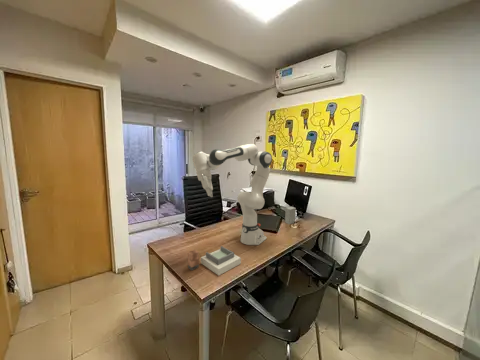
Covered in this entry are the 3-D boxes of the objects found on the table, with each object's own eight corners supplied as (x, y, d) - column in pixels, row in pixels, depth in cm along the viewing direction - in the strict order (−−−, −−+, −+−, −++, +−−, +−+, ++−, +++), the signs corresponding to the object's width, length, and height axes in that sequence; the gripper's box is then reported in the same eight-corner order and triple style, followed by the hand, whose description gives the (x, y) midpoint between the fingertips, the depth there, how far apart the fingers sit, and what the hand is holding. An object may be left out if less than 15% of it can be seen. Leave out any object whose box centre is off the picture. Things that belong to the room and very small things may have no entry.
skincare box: (290, 221, 209) (291, 206, 207) (295, 223, 203) (296, 207, 200) (284, 222, 205) (285, 207, 203) (289, 224, 199) (289, 209, 196)
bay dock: (222, 253, 142) (222, 243, 141) (240, 263, 130) (240, 253, 129) (200, 263, 130) (200, 252, 129) (218, 275, 117) (218, 264, 116)
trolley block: (195, 264, 128) (194, 249, 126) (198, 267, 125) (198, 252, 124) (188, 267, 124) (187, 252, 123) (191, 270, 122) (191, 254, 120)
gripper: (206, 171, 122) (213, 193, 120) (211, 177, 142) (217, 195, 140) (196, 174, 122) (203, 196, 120) (202, 179, 142) (208, 198, 140)
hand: (210, 196), depth 130 cm, fingers open, 8 cm apart
